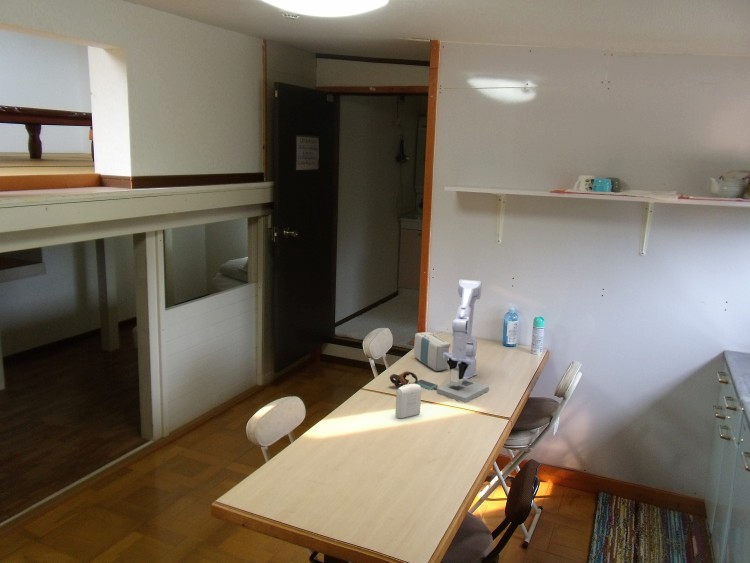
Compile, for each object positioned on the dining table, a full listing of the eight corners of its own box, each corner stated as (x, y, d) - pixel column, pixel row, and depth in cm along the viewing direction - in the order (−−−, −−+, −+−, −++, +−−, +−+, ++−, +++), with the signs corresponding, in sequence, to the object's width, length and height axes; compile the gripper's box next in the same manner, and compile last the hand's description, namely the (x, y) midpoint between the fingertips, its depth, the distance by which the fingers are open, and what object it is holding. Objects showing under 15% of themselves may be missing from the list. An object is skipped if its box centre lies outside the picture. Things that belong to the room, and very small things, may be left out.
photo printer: (415, 410, 241) (416, 380, 238) (421, 414, 237) (423, 384, 234) (393, 415, 235) (394, 385, 232) (400, 419, 231) (401, 388, 229)
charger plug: (455, 381, 262) (456, 367, 260) (462, 383, 260) (463, 369, 258) (450, 384, 259) (451, 369, 257) (456, 386, 257) (457, 371, 255)
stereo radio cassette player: (412, 358, 301) (414, 319, 296) (427, 356, 304) (429, 317, 300) (434, 373, 282) (437, 331, 278) (449, 370, 286) (452, 329, 281)
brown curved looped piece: (413, 384, 269) (419, 372, 264) (412, 400, 261) (419, 388, 256) (387, 377, 267) (393, 364, 262) (385, 393, 260) (391, 381, 255)
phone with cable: (414, 384, 267) (414, 381, 267) (420, 381, 270) (420, 379, 270) (437, 392, 259) (437, 389, 259) (443, 389, 262) (444, 386, 262)
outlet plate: (460, 382, 272) (461, 377, 271) (488, 391, 263) (488, 385, 262) (436, 393, 258) (437, 387, 258) (465, 402, 249) (465, 397, 249)
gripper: (439, 344, 258) (437, 375, 261) (468, 352, 249) (466, 384, 251) (449, 341, 263) (447, 371, 266) (478, 349, 254) (475, 380, 257)
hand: (457, 377), depth 259 cm, fingers closed on charger plug, 3 cm apart
